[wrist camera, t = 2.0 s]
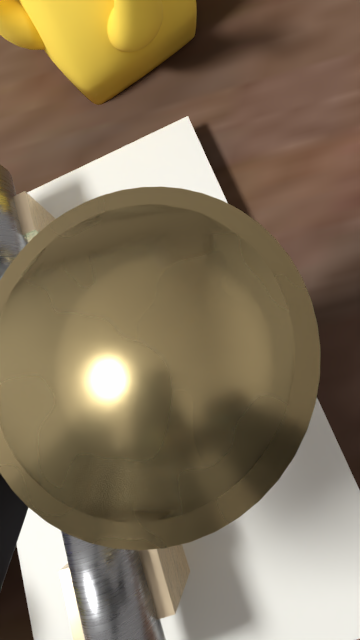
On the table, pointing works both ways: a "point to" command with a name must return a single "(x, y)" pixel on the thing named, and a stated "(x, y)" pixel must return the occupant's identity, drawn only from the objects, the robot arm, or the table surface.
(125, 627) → the shafts
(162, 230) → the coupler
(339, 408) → the table surface
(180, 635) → the board
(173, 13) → the teapot
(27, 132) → the table surface
